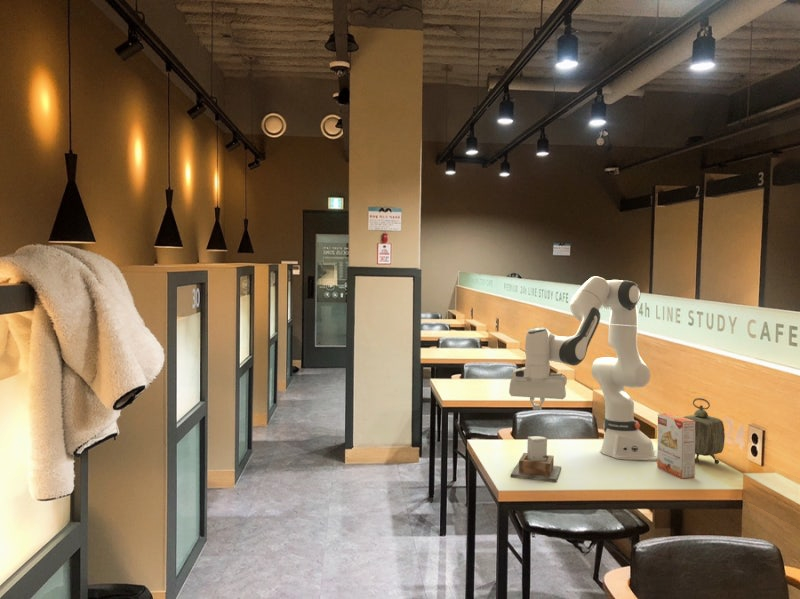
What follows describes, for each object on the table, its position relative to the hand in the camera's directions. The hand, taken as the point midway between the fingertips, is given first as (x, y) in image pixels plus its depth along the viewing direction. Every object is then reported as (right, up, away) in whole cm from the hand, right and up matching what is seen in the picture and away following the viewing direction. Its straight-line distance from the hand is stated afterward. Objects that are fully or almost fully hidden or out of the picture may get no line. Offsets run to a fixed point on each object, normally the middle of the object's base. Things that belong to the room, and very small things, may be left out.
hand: (537, 409), depth 225 cm
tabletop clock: (+67, -24, +16) cm, 73 cm away
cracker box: (+51, -24, +2) cm, 57 cm away
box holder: (0, -24, +1) cm, 24 cm away
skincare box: (0, -23, +1) cm, 23 cm away
